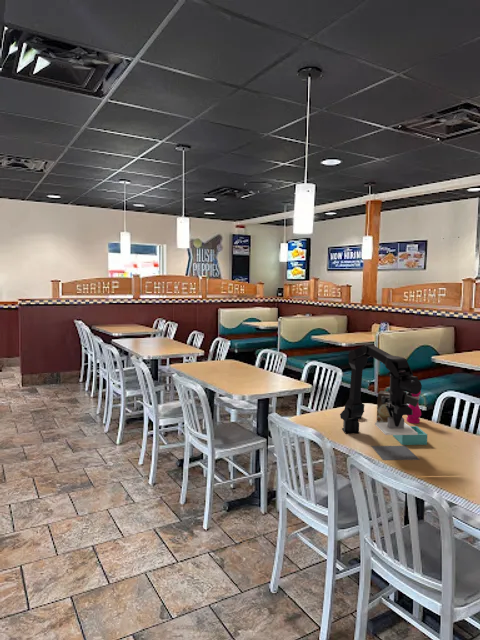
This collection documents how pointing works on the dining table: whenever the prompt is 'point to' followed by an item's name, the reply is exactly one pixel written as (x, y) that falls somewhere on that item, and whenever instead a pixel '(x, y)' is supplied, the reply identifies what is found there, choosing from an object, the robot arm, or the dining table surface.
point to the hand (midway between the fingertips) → (395, 425)
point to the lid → (395, 428)
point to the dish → (413, 438)
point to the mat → (395, 453)
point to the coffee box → (382, 408)
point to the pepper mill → (414, 411)
